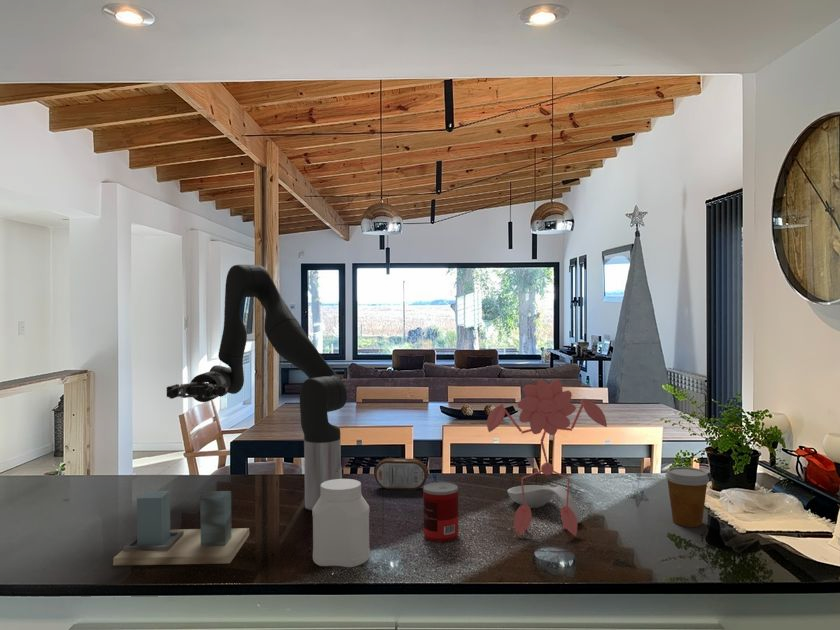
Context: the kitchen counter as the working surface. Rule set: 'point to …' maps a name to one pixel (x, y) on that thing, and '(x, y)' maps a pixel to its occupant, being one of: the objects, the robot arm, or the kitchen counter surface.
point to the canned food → (440, 511)
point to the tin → (401, 473)
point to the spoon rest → (542, 497)
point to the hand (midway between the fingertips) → (188, 394)
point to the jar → (341, 525)
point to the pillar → (153, 518)
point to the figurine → (548, 413)
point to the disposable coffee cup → (687, 494)
